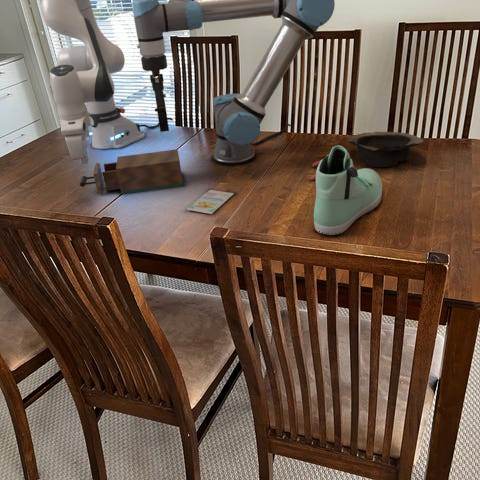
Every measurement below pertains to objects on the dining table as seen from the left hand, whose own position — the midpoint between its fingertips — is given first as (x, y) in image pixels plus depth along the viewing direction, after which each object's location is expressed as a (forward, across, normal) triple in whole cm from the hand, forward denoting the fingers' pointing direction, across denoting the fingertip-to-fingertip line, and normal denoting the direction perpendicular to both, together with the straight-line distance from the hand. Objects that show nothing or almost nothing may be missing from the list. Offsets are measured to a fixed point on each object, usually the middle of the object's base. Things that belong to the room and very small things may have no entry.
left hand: (85, 162), depth 156 cm
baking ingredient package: (+10, +20, +38) cm, 44 cm away
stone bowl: (+10, +5, +101) cm, 101 cm away
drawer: (+9, 0, +9) cm, 13 cm away
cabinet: (+10, 0, +20) cm, 23 cm away
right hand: (-9, 0, +27) cm, 29 cm away
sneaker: (+10, +37, +76) cm, 85 cm away
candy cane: (+10, +9, +76) cm, 77 cm away
